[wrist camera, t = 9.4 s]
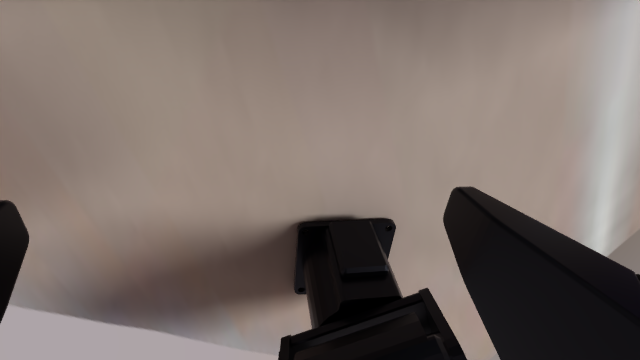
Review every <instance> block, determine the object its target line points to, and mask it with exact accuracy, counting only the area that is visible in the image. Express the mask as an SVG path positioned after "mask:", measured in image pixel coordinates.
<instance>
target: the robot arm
mask: <svg viewBox="0 0 640 360" xmlns="http://www.w3.org/2000/svg"><path fill="white" fill-rule="evenodd" d="M443 222H444V226H445V229H446V232H447V235H448V238H449V241H450V244H451V247H452V249H453V252H454V255H455V258H456V261H457V264H458V267H459V270H460V273H461V275H462V278H463V280H464V283H465V285H466V287H467V290H468V292H469V294H470V296H471V298H472V300H473V302H474V304H475V307H476V309H477V311H478V313H479V315H480V317H481V319H482V321H483V324H484V326H485V328H486V330H487V332H488V334H489V336H490V338H491V341H492V343H493V345H494V347H495V349H496V351H497V353H498V355H499V357H500V359H501V360H640V275H639V274H635V272H634V271H632V270H630V269H628V268H626V267H624V266H622V265H620V264H619V263H617V262H615V261H613V260H611V259H609V258H607V257H605V256H603V255H601V254H600V253H598V252H596V251H594V250H592V249H590V248H588V247H586V246H584V245H582V244H581V243H579V242H577V241H575V240H573V239H571V238H569V237H567V236H565V235H563V234H561V233H560V232H558V231H556V230H554V229H552V228H550V227H548V226H546V225H544V224H542V223H541V222H539V221H537V220H535V219H533V218H531V217H529V216H527V215H525V214H523V213H522V212H520V211H518V210H516V209H514V208H512V207H510V206H508V205H506V204H504V203H503V202H501V201H499V200H497V199H495V198H493V197H491V196H489V195H487V194H485V193H483V192H482V191H480V190H478V189H476V188H474V187H456V188H454V189H453V190H452V192H451V195H450V198H449V201H448V203H447V206H446V209H445V212H444V217H443ZM387 226H389V227H387ZM386 227H387V228H386ZM395 229H396V226H395V223H394V222H393V220H391V219H376V220H353V221H329V222H306V223H302V224H300V225H299V226H298V230H297V246H296V262H295V278H294V290H295V293H297V294H307V300H308V306H309V313H310V319H311V325H312V329H311V330H308V331H305V332H302V333H299V334H296V335H293V336H291V335H288V336H285V337H282V338H281V345H280V352H279V358H278V360H467V359H466V357H465V354H464V352H463V350H462V348H461V346H460V344H459V342H458V340H457V339H456V337H455V335H454V333H453V331H452V330H451V328H450V326H449V324H448V323H447V321H446V319H445V317H444V316H443V314H442V312H441V310H440V309H439V307H438V305H437V303H436V302H435V300H434V298H433V296H432V294H431V293H430V291H429V289H428V288H425V289H422V290H419V291H418V293H415V294H413V295H410V296H407V297H404V298H403V296H402V294H401V291H400V289H399V286H398V284H397V281H396V279H395V277H394V274H393V272H392V269H391V267H390V264H389V262H388V257H389V253H390V249H391V245H392V241H393V237H394V233H395ZM304 230H308V231H304ZM28 244H29V234H28V231H27V229H26V227H25V225H24V222H23V220H22V218H21V216H20V214H19V212H18V210H17V208H16V206H15V204H14V203H12V202H11V201H8V200H0V323H1V321H2V318H3V316H4V313H5V311H6V308H7V306H8V303H9V300H10V297H11V294H12V291H13V288H14V285H15V283H16V280H17V277H18V274H19V271H20V268H21V265H22V262H23V259H24V256H25V253H26V250H27V248H28ZM301 287H302V288H301Z"/></svg>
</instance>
